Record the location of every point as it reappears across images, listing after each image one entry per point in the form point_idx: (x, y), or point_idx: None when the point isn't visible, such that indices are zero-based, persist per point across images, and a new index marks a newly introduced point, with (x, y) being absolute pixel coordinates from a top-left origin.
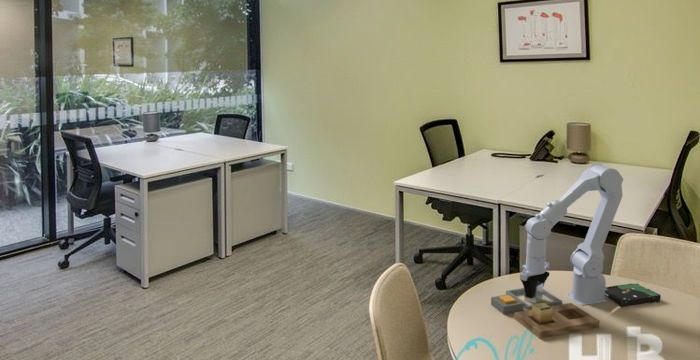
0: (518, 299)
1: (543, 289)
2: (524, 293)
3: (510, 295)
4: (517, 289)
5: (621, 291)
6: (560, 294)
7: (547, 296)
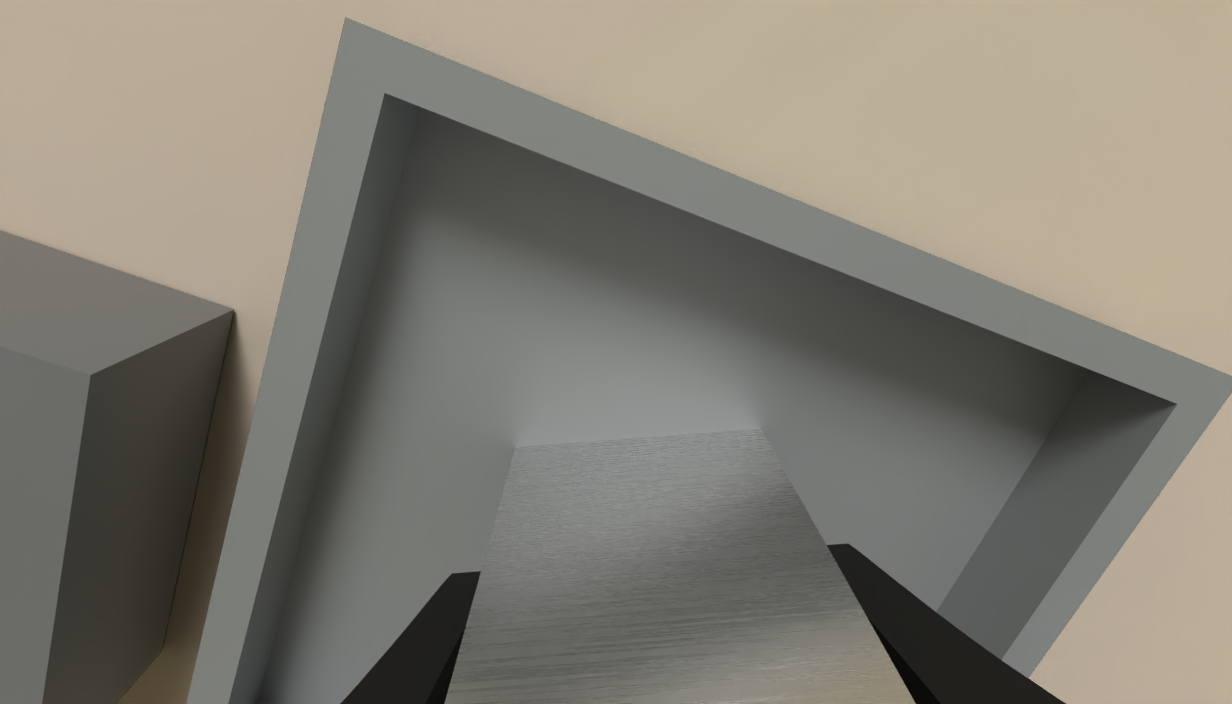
0: (227, 527)
1: (1096, 562)
2: (793, 268)
3: (24, 424)
4: (662, 189)
5: None
6: (1224, 639)
7: None
